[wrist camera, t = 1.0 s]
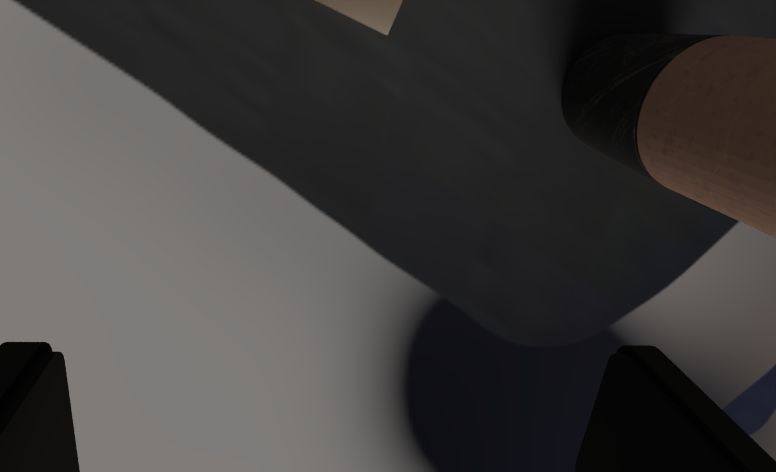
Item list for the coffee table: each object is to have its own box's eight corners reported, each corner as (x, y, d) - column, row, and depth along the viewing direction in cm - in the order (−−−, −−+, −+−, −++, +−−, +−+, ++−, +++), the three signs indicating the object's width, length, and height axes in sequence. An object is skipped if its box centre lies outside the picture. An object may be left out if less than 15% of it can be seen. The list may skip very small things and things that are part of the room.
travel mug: (533, 110, 34) (807, 227, 16) (613, 1, 33) (1023, -5, 14) (614, 172, 37) (929, 333, 19) (692, 75, 35) (1123, 149, 17)
